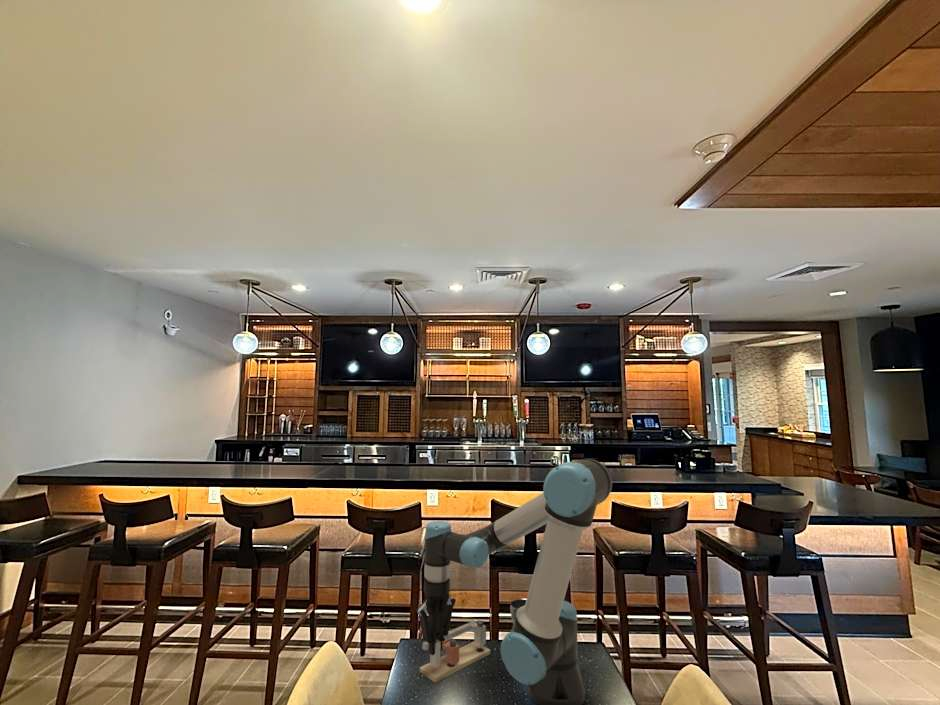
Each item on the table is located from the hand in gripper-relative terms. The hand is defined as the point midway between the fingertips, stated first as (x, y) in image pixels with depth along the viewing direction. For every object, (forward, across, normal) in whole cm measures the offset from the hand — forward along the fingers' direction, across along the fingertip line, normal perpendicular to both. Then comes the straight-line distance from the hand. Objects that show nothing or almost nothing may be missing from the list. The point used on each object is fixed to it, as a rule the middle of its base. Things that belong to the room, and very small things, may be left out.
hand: (435, 664), depth 129 cm
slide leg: (+1, -6, -2) cm, 7 cm away
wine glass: (+3, -27, +9) cm, 29 cm away
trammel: (+2, -9, -2) cm, 9 cm away
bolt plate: (+3, -9, -1) cm, 10 cm away
